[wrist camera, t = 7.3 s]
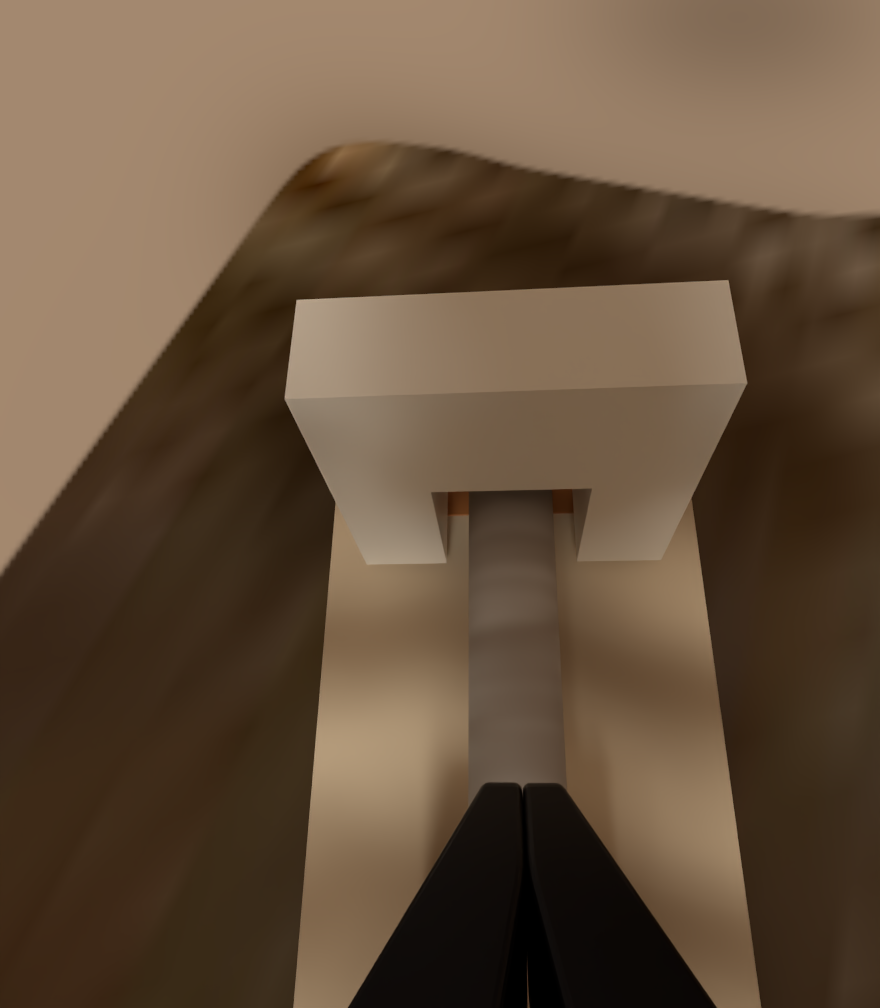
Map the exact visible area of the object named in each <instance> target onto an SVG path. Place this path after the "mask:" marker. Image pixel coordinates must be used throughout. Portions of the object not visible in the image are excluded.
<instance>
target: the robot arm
mask: <svg viewBox="0 0 880 1008" xmlns="http://www.w3.org/2000/svg"><path fill="white" fill-rule="evenodd" d="M527 972H528V988H527ZM528 996H529V1008H717V1007H716V1005H715V1004H714V1003H713V1001H712V1000H711V998H710V997H709V995H708V994H707V992H706V991H705V990H704V988H703V987H702V985H701V984H700V982H699V981H698V979H697V978H696V977H695V975H694V974H693V972H692V971H691V969H690V968H689V966H688V965H687V964H686V962H685V961H684V959H683V958H682V956H681V955H680V953H679V952H678V951H677V949H676V948H675V946H674V945H673V943H672V942H671V941H670V939H669V938H668V936H667V935H666V933H665V932H664V930H663V929H662V928H661V926H660V925H659V923H658V922H657V920H656V919H655V917H654V916H653V915H652V913H651V912H650V910H649V909H648V907H647V906H646V904H645V903H644V902H643V900H642V899H641V897H640V896H639V894H638V893H637V891H636V890H635V889H634V887H633V886H632V884H631V883H630V881H629V880H628V878H627V877H626V876H625V874H624V873H623V871H622V870H621V868H620V867H619V865H618V864H617V863H616V861H615V860H614V858H613V857H612V855H611V854H610V852H609V851H608V850H607V848H606V847H605V845H604V844H603V842H602V841H601V839H600V838H599V837H598V835H597V834H596V832H595V831H594V829H593V828H592V826H591V825H590V824H589V822H588V821H587V819H586V818H585V816H584V815H583V814H582V812H581V811H580V809H579V808H578V806H577V805H576V803H575V802H574V801H573V799H572V798H571V796H570V795H569V793H568V792H567V790H566V789H565V788H564V787H563V786H562V785H561V784H559V783H527V784H525V785H524V787H523V795H522V787H521V786H520V784H518V783H515V782H487V783H485V784H483V785H482V786H481V788H480V789H479V791H478V792H477V794H476V796H475V797H474V799H473V801H472V802H471V804H470V805H469V807H468V809H467V810H466V812H465V814H464V815H463V817H462V819H461V820H460V822H459V824H458V825H457V827H456V829H455V830H454V832H453V834H452V835H451V837H450V839H449V840H448V842H447V844H446V845H445V847H444V849H443V850H442V852H441V854H440V855H439V857H438V859H437V860H436V862H435V864H434V865H433V867H432V869H431V870H430V872H429V874H428V875H427V877H426V879H425V880H424V882H423V884H422V885H421V887H420V889H419V890H418V892H417V894H416V895H415V897H414V899H413V900H412V902H411V904H410V905H409V907H408V908H407V910H406V912H405V913H404V915H403V917H402V918H401V920H400V922H399V923H398V925H397V927H396V928H395V930H394V932H393V933H392V935H391V937H390V938H389V940H388V942H387V943H386V945H385V947H384V948H383V950H382V952H381V953H380V955H379V957H378V958H377V960H376V962H375V963H374V965H373V967H372V968H371V970H370V972H369V973H368V975H367V977H366V978H365V980H364V982H363V983H362V985H361V987H360V988H359V990H358V992H357V993H356V995H355V997H354V998H353V1000H352V1002H351V1003H350V1005H349V1007H348V1008H528Z"/></svg>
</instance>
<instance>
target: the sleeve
mask: <svg viewBox="0 0 880 1008" xmlns="http://www.w3.org/2000/svg"><path fill="white" fill-rule="evenodd" d="M746 385H747V379H746V374H745V368H744V363H743V357H742V352H741V346H740V341H739V336H738V330H737V325H736V319H735V314H734V309H733V303H732V298H731V292H730V287H729V281H728V280H720V281H698V282H676V283H655V284H633V285H611V286H590V287H568V288H546V289H524V290H503V291H481V292H459V293H438V294H416V295H394V296H372V297H351V298H329V299H307V300H297V302H296V310H295V318H294V326H293V334H292V342H291V350H290V358H289V367H288V375H287V383H286V391H285V401H286V403H287V405H288V407H289V409H290V411H291V413H292V415H293V417H294V419H295V421H296V423H297V425H298V427H299V429H300V431H301V433H302V435H303V437H304V439H305V441H306V443H307V445H308V447H309V449H310V451H311V453H312V455H313V457H314V459H315V461H316V464H317V466H318V468H319V470H320V472H321V474H322V476H323V478H324V480H325V482H326V484H327V486H328V488H329V490H330V492H331V494H332V496H333V498H334V500H335V502H336V504H337V506H338V508H339V510H340V512H341V514H342V516H343V518H344V520H345V522H346V524H347V526H348V528H349V530H350V532H351V534H352V536H353V538H354V540H355V542H356V544H357V546H358V548H359V550H360V552H361V554H362V556H363V558H364V560H365V562H366V564H367V565H371V564H438V563H447V517H448V492H463V491H506V490H549V489H572V493H573V509H574V525H575V541H576V557H577V561H639V560H661V559H662V557H663V555H664V553H665V551H666V549H667V547H668V545H669V543H670V540H671V538H672V536H673V534H674V532H675V530H676V528H677V526H678V524H679V522H680V520H681V518H682V516H683V514H684V512H685V510H686V508H687V506H688V504H689V502H690V499H691V497H692V495H693V493H694V491H695V489H696V487H697V485H698V483H699V481H700V479H701V477H702V475H703V473H704V471H705V469H706V467H707V465H708V463H709V461H710V458H711V456H712V454H713V452H714V450H715V448H716V446H717V444H718V442H719V440H720V438H721V436H722V434H723V432H724V430H725V428H726V426H727V424H728V422H729V420H730V417H731V415H732V413H733V411H734V409H735V407H736V405H737V403H738V401H739V399H740V397H741V395H742V393H743V391H744V389H745V387H746Z"/></svg>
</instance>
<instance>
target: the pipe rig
mask: <svg viewBox="0 0 880 1008" xmlns="http://www.w3.org/2000/svg"><path fill="white" fill-rule="evenodd" d="M487 782H515V783H518V784H520V786H521V787H522V795H523V787H524V785H525V784H527V783H559V784H561V785H562V786H563V787H564V788H565V789H566V790H567V792H568V793H569V795H570V796H571V798H572V799H573V801H574V802H575V803H576V805H577V806H578V808H579V809H580V811H581V812H582V814H583V815H584V816H585V818H586V819H587V821H588V822H589V824H590V825H591V826H592V828H593V829H594V831H595V832H596V834H597V835H598V837H599V838H600V839H601V841H602V842H603V844H604V845H605V847H606V848H607V850H608V851H609V852H610V854H611V855H612V857H613V858H614V860H615V861H616V863H617V864H618V865H619V867H620V868H621V870H622V871H623V873H624V874H625V876H626V877H627V878H628V880H629V881H630V883H631V884H632V886H633V887H634V889H635V890H636V891H637V893H638V894H639V896H640V897H641V899H642V900H643V902H644V903H645V904H646V906H647V907H648V909H649V910H650V912H651V913H652V915H653V916H654V917H655V919H656V920H657V922H658V923H659V925H660V926H661V928H662V929H663V930H664V932H665V933H666V935H667V936H668V938H669V939H670V941H671V942H672V943H673V945H674V946H675V948H676V949H677V951H678V952H679V953H680V955H681V956H682V958H683V959H684V961H685V962H686V964H687V965H688V966H689V968H690V969H691V971H692V972H693V974H694V975H695V977H696V978H697V979H698V981H699V982H700V984H701V985H702V987H703V988H704V990H705V991H706V992H707V994H708V995H709V997H710V998H711V1000H712V1001H713V1003H714V1004H715V1005H716V1007H717V1008H761V1003H760V996H759V989H758V981H757V974H756V967H755V960H754V952H753V945H752V938H751V930H750V923H749V916H748V908H747V901H746V894H745V886H744V879H743V872H742V864H741V857H740V850H739V842H738V835H737V828H736V821H735V813H734V806H733V799H732V791H731V784H730V777H729V769H728V762H727V755H726V747H725V740H724V733H723V725H722V718H721V711H720V704H719V696H718V689H717V682H716V674H715V667H714V660H713V652H712V645H711V638H710V630H709V623H708V616H707V608H706V601H705V594H704V586H703V579H702V572H701V565H700V557H699V550H698V543H697V535H696V528H695V521H694V513H693V506H692V499H690V502H689V504H688V506H687V508H686V510H685V512H684V514H683V516H682V518H681V520H680V522H679V524H678V526H677V528H676V530H675V532H674V534H673V536H672V538H671V540H670V543H669V545H668V547H667V549H666V551H665V553H664V555H663V557H662V559H661V560H639V561H577V557H576V541H575V525H574V509H573V493H572V489H549V490H506V491H463V492H448V517H447V563H438V564H371V565H367V564H366V562H365V560H364V558H363V556H362V554H361V552H360V550H359V548H358V546H357V544H356V542H355V540H354V538H353V536H352V534H351V532H350V530H349V528H348V526H347V524H346V522H345V520H344V518H343V516H342V514H341V512H340V510H339V508H338V506H337V504H336V505H335V517H334V529H333V541H332V553H331V565H330V577H329V589H328V601H327V613H326V625H325V637H324V649H323V661H322V673H321V684H320V696H319V708H318V720H317V732H316V744H315V756H314V768H313V780H312V792H311V804H310V816H309V828H308V840H307V852H306V864H305V876H304V888H303V900H302V911H301V923H300V935H299V947H298V959H297V971H296V983H295V995H294V1007H293V1008H348V1007H349V1005H350V1003H351V1002H352V1000H353V998H354V997H355V995H356V993H357V992H358V990H359V988H360V987H361V985H362V983H363V982H364V980H365V978H366V977H367V975H368V973H369V972H370V970H371V968H372V967H373V965H374V963H375V962H376V960H377V958H378V957H379V955H380V953H381V952H382V950H383V948H384V947H385V945H386V943H387V942H388V940H389V938H390V937H391V935H392V933H393V932H394V930H395V928H396V927H397V925H398V923H399V922H400V920H401V918H402V917H403V915H404V913H405V912H406V910H407V908H408V907H409V905H410V904H411V902H412V900H413V899H414V897H415V895H416V894H417V892H418V890H419V889H420V887H421V885H422V884H423V882H424V880H425V879H426V877H427V875H428V874H429V872H430V870H431V869H432V867H433V865H434V864H435V862H436V860H437V859H438V857H439V855H440V854H441V852H442V850H443V849H444V847H445V845H446V844H447V842H448V840H449V839H450V837H451V835H452V834H453V832H454V830H455V829H456V827H457V825H458V824H459V822H460V820H461V819H462V817H463V815H464V814H465V812H466V810H467V809H468V807H469V805H470V804H471V802H472V801H473V799H474V797H475V796H476V794H477V792H478V791H479V789H480V788H481V786H482V785H483V784H485V783H487ZM527 988H528V972H527ZM528 1008H529V996H528Z"/></svg>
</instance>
